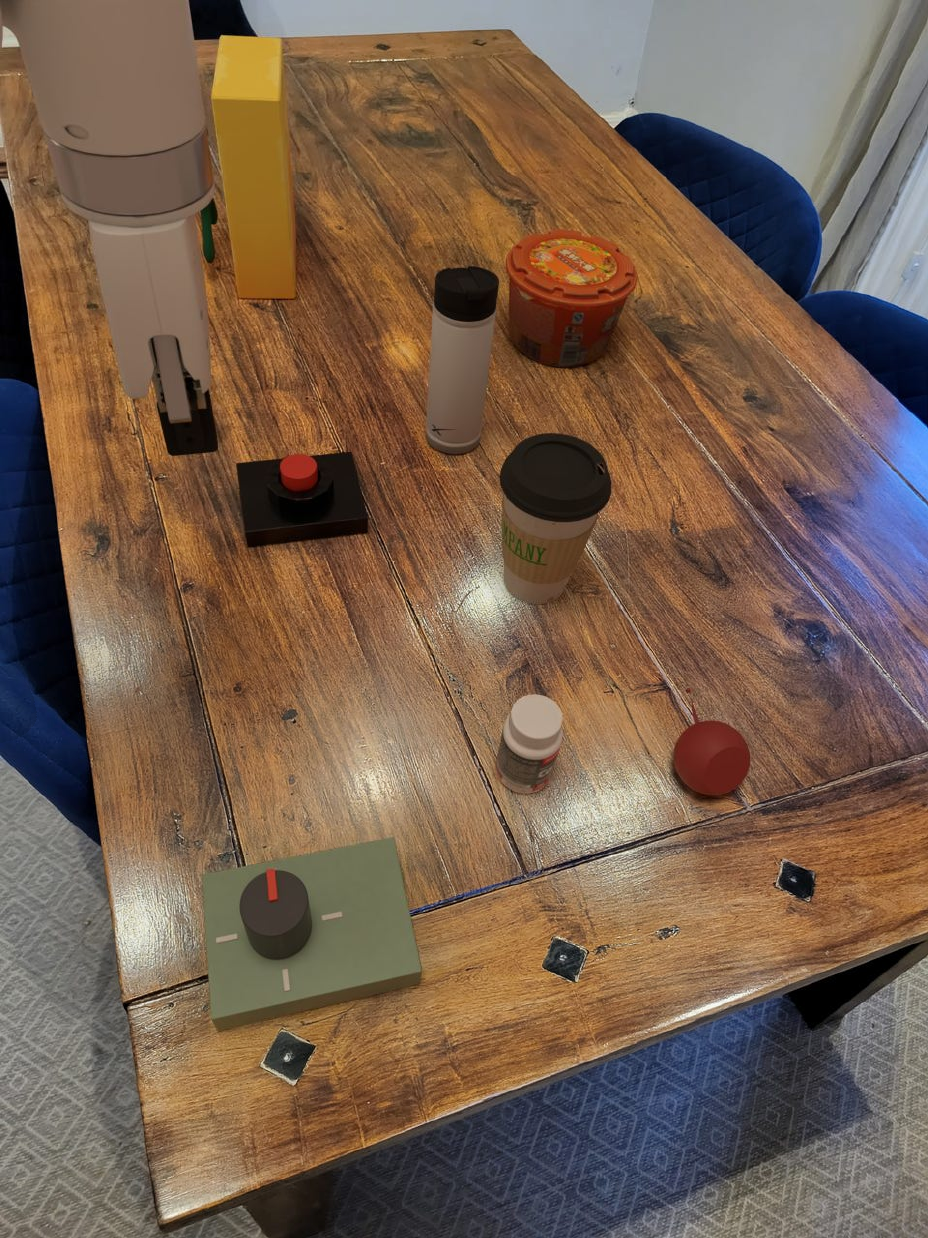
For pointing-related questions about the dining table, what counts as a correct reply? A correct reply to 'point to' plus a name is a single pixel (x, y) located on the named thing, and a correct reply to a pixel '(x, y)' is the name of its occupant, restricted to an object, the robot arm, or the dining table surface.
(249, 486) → the switch block
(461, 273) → the travel mug
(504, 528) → the coffee cup
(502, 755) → the pill bottle
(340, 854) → the panel
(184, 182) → the robot arm
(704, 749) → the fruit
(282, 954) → the knob
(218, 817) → the dining table surface
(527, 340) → the food container
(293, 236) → the toys
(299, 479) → the button
